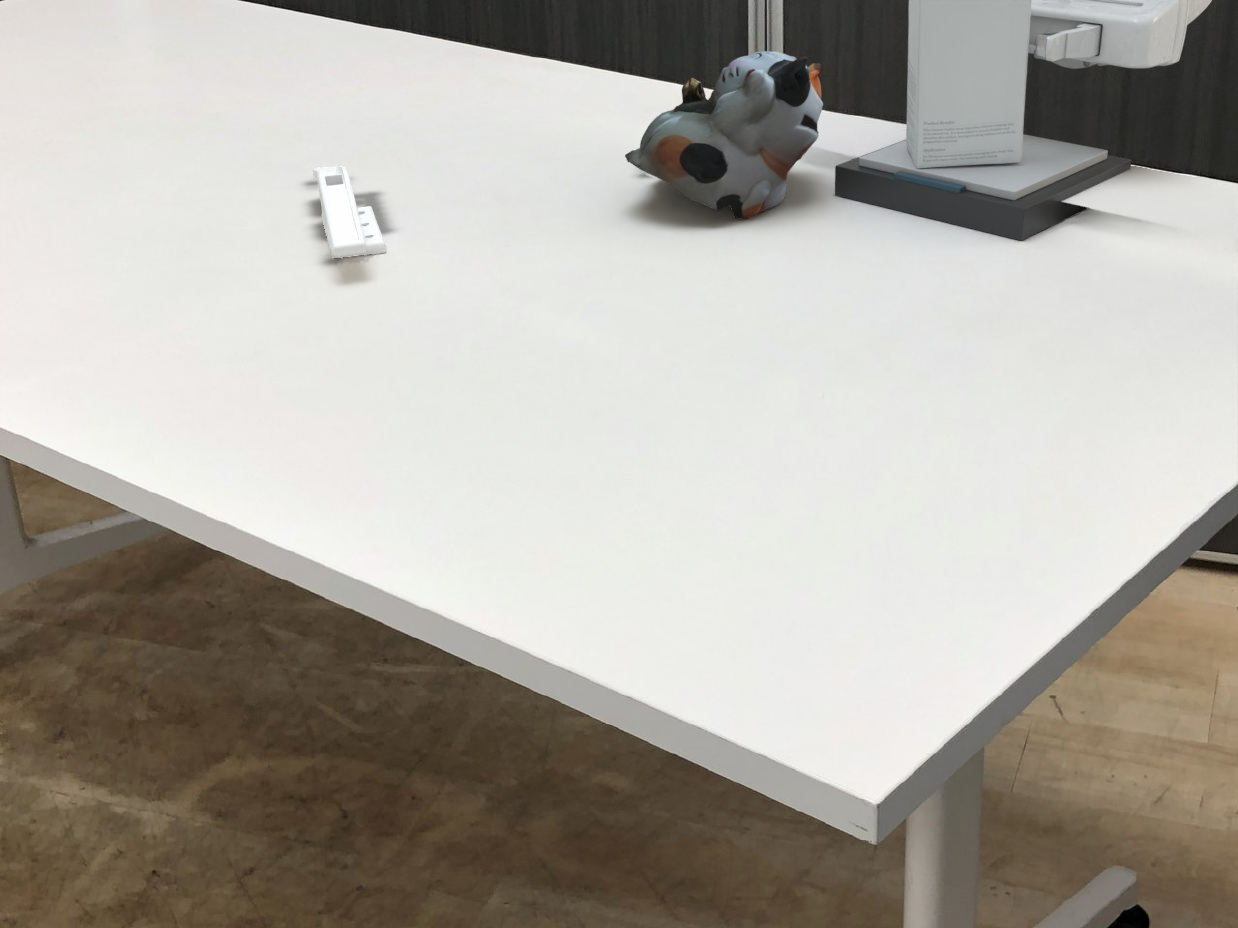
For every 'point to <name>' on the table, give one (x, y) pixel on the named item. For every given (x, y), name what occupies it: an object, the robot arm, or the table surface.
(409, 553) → the table surface
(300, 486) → the table surface
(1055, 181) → the scale
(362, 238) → the white intercom handset
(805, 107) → the lucky cat figurine
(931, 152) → the cosmetic box
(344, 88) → the table surface
